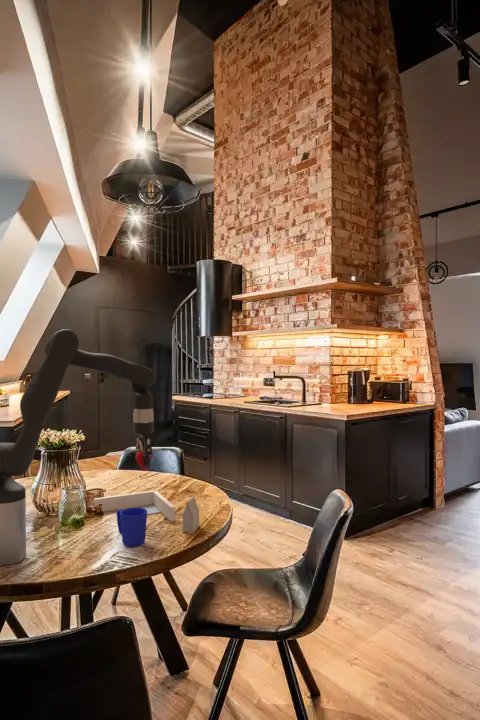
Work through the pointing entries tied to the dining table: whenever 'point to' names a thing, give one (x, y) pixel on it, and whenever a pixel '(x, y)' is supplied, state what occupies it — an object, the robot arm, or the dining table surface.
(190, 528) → the grey house-shaped block
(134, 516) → the mug
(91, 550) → the dining table surface
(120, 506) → the corner arena
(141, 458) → the strawberry
